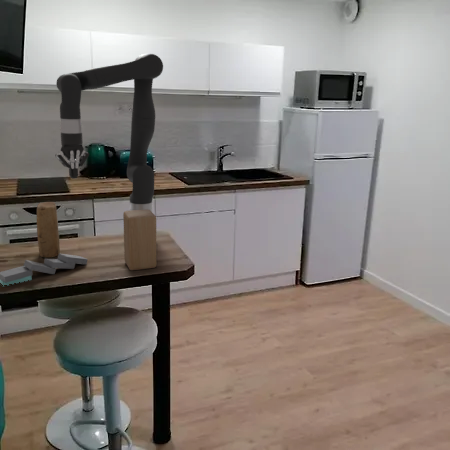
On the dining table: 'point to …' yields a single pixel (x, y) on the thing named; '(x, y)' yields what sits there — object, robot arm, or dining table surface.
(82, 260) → the domino
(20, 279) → the domino
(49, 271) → the domino
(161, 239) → the dining table surface
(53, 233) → the block
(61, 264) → the domino
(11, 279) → the domino
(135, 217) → the wooden block
